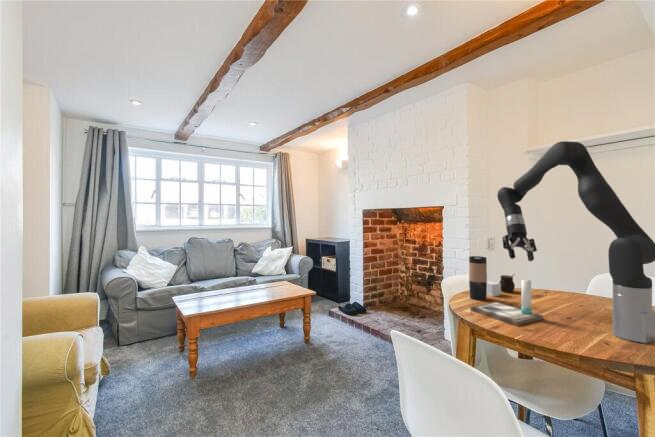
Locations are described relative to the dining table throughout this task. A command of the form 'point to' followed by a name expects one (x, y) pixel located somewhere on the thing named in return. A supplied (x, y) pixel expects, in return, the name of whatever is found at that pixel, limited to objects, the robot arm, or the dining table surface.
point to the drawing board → (506, 313)
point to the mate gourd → (507, 283)
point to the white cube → (493, 288)
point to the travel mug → (478, 277)
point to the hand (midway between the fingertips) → (522, 259)
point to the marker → (526, 297)
